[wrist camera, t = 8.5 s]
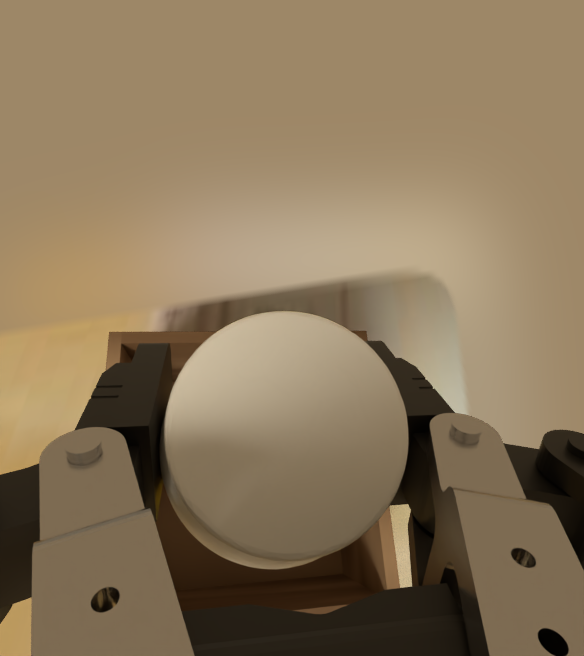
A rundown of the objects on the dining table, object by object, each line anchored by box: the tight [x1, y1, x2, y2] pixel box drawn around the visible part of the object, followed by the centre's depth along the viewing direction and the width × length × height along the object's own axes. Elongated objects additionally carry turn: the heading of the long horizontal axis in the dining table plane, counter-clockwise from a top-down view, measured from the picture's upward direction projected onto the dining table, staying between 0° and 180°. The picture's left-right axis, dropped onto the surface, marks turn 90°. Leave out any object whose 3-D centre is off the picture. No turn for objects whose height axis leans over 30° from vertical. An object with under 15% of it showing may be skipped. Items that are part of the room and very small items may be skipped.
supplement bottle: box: [159, 311, 408, 569], centre depth 11 cm, size 5×5×8 cm
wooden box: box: [106, 331, 400, 614], centre depth 20 cm, size 11×11×7 cm
